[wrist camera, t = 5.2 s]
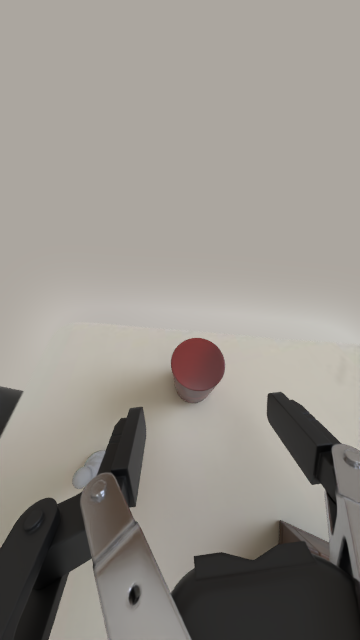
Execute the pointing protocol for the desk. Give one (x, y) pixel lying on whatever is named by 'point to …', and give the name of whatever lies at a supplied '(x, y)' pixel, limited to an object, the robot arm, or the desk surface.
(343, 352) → the desk surface
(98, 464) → the pawn
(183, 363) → the red cylinder
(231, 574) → the robot arm
